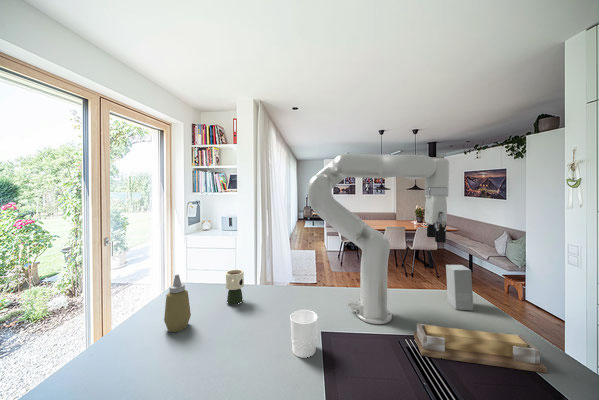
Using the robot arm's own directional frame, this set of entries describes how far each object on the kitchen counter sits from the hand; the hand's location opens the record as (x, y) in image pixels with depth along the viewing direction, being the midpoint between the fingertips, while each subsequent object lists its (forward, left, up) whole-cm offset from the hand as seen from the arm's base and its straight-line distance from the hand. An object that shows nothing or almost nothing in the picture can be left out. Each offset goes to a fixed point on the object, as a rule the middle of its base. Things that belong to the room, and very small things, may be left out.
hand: (435, 239), depth 89 cm
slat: (+4, -20, -27) cm, 34 cm away
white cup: (-43, -30, -28) cm, 60 cm away
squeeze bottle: (-87, -28, -28) cm, 96 cm away
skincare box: (+12, +11, -28) cm, 33 cm away
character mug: (-77, -7, -28) cm, 82 cm away
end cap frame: (+4, -20, -28) cm, 35 cm away
